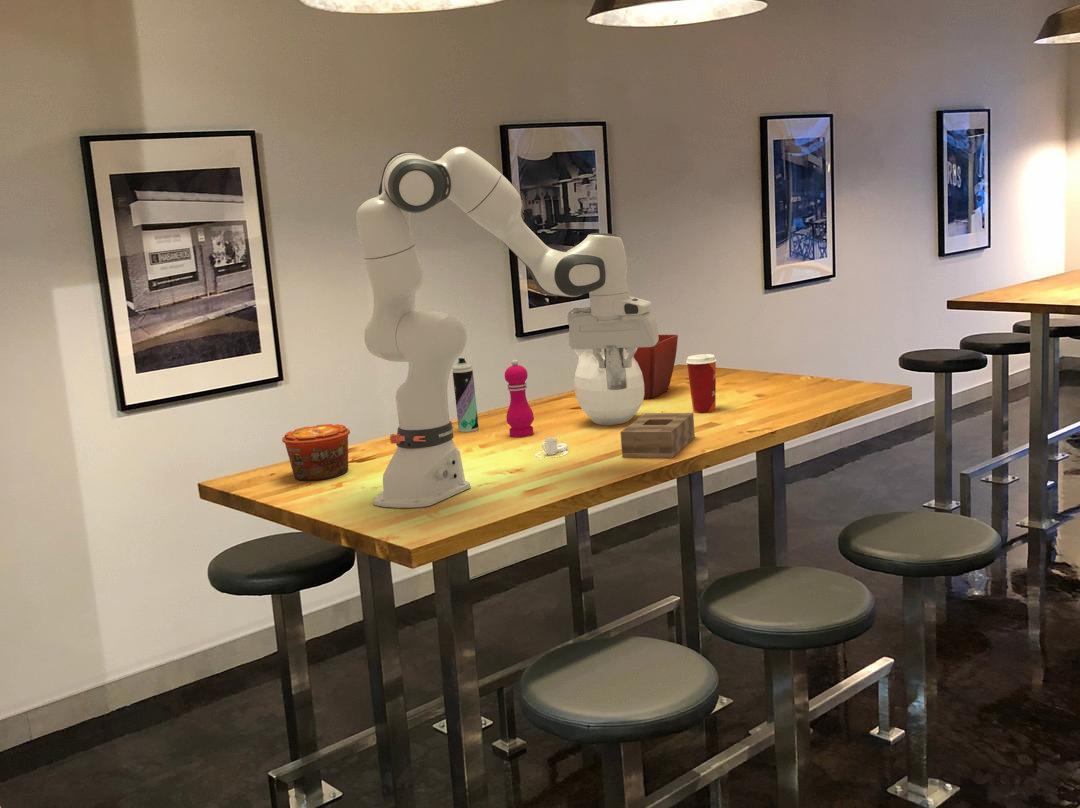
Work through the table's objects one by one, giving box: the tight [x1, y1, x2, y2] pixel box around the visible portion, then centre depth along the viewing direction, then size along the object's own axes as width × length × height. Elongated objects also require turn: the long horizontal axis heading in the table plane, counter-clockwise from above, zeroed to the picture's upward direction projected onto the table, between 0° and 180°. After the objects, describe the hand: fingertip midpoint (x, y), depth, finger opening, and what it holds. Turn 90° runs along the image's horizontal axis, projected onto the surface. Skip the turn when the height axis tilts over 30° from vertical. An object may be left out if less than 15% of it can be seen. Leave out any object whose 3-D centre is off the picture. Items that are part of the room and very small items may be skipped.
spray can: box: [452, 357, 479, 433], centre depth 287 cm, size 6×6×20 cm
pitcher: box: [573, 347, 644, 426], centre depth 281 cm, size 19×18×25 cm
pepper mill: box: [504, 359, 535, 438], centre depth 276 cm, size 7×7×20 cm
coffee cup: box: [685, 353, 718, 414], centre depth 285 cm, size 8×8×15 cm
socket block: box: [620, 412, 695, 459], centre depth 250 cm, size 20×12×6 cm, turn 157°
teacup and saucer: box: [534, 437, 569, 459], centre depth 253 cm, size 9×8×4 cm
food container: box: [281, 423, 351, 482], centre depth 253 cm, size 16×16×11 cm
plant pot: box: [625, 334, 679, 400], centre depth 315 cm, size 19×19×17 cm
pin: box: [604, 345, 627, 390], centre depth 236 cm, size 4×4×10 cm
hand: (615, 367), depth 236 cm, fingers closed on pin, 4 cm apart
